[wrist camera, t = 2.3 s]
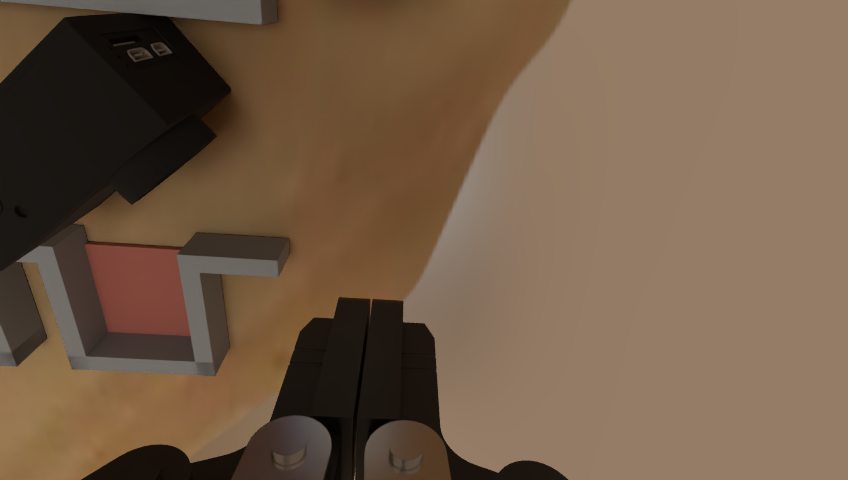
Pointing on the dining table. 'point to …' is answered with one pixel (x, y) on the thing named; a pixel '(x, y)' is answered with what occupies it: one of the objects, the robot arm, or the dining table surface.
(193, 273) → the channel
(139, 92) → the digital camera
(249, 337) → the dining table surface
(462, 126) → the dining table surface
